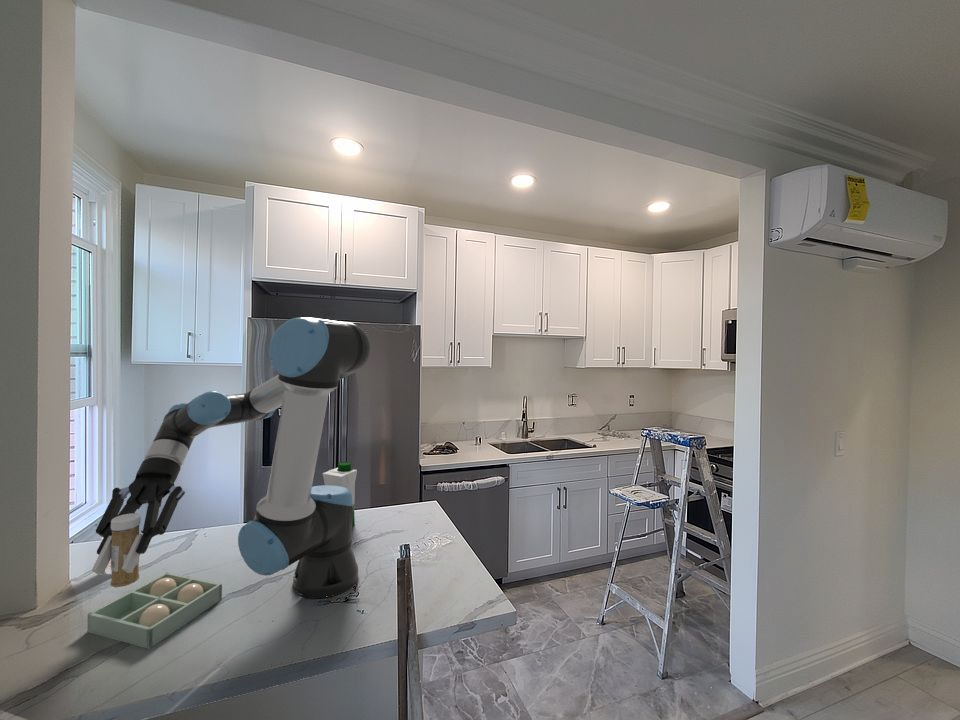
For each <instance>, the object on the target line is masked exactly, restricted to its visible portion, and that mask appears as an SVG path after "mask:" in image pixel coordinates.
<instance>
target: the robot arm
mask: <svg viewBox="0 0 960 720" xmlns="http://www.w3.org/2000/svg"><path fill="white" fill-rule="evenodd" d="M371 354H372V344H371V339H370V338H369V336H368V334H367V333H366V332H365V330H364V329H362V328H361V326H358V325H357V324H355V323H352V322H350V321H338V320H330V319H323V318H317V317H309V316H308V317H293V318H290V319H288V320H286V321H285V322H284V323H283V324H280V325H279V326H278V328H277V329H276V330H275V332H274V333H273V334H272V338H271V340H270V343H269V350H268V357H269V360H270V361H271V363H270V364H271V366H272V368H273V369H274V371H275V372H276V373H278V374H277V375H275V376H273V377H272V378H270V379H268V380H266V381H264V382H263V383H261V384H259V385H258V386H256V387H254V388H253V389H251V390H249V391H247V392H245V393H237V394H227V395H226V394H224V393H221V392H218V391H215V390H208V391H205V392H203V393H202V394H200V395H198V396H196V397H194V398H193V399H192V400H191V401H189V402H188V403H185V402H183V403H180V404H179V403H176V404H174V405H173V406H171V407H170V408H169V409H168V412H167V413H166V414H165V415H164V417H163V420H162V423H161V425H160V427H159V429H158V430H157V433H156V435H155V437H154V438H153V441H152V443H151V445H150V446H149V448H148V450H147V452H146V454H145V455H144V456H145V457H144V460H143V461H141V462H142V463H141V464H140V465H139V468H138V470H137V471H136V474H135V478H134V480H133V481H132V482H131V483H130V484H129V486H127V487H126V486H125V487H123V488H120V487H114V488H113V489H112V491H111V492H112V493H111V499H110V502H109V503H108V505H107V507H106V509H105V511H104V513H103V515H102V517H101V519H100V521H99V523H98V525H97V527H96V529H95V533H96V534H97V535H99V536H100V537H101V538H102V537H103V540H102V539H101V542H100V543H99V546H98V548H97V549H96V555H98V556H97V559H96V560H95V562H94V564H93V566H92V567H91V571H92V572H93V573H94V574H97V575H98V576H100V575H101V576H102V575H104V574H105V569H106V567H107V565H108V563H109V561H110V559H111V544H112V530H111V520H112V519H113V518H115V517H117V516H120V515H124V514H130V513H136V511H137V510H139V509H140V508H141V507H142V506H143V505H146V504H148V505H147V509H146V512H145V519H144V525H143V528H142V530H140V532H141V533H142V534H140V533H139V535H137V536H136V538H135V540H134V542H133V544H132V547H131V549H130V551H129V553H128V555H127V558H126V560H125V562H124V564H123V566H122V569H123V570H124V571H125V572H127V573H132V572H133V570H134V567H135V565H136V563H137V561H138V558H139V559H140V556H141V555H143V554H145V553H146V552H147V549H148V548H149V545H150V543H151V541H152V539H153V538H154V537H156V536H161V535H162V536H163V535H164V534H165V533H166V531H167V528H168V526H169V524H170V522H171V520H172V516H173V514H174V512H175V510H176V508H177V507H178V503H179V501H180V500H181V499H182V498H183V497H184V496H185V493H186V492H185V490H184V489H183V488H182V486H181V485H180V486H176V485H175V482H176V481H177V478H178V476H179V474H180V471H181V469H182V468H181V467H183V464H184V462H185V460H186V457H187V454H188V453H189V451H190V449H191V445H192V444H193V442H194V439H195V438H196V437H198V435H200V434H202V433H204V432H205V431H207V430H208V429H211V428H217V427H221V426H222V427H223V426H227V425H228V426H229V425H234V424H241V423H246V422H252V421H253V422H254V421H262V420H264V419H268V418H271V417H272V416H274V413H275V412H276V410H277V409H279V408H280V407H281V409H280V414H279V415H280V416H279V421H278V427H277V432H276V439H275V443H274V451H273V456H272V463H271V467H270V473H269V475H270V476H269V480H268V485H267V490H266V491H267V492H266V495H265V496H264V497H262V498H261V499H260V500H259V501H258V502H257V504H256V509H255V513H254V518H253V520H249V521H248V522H246V523H245V524H244V525H243V526H242V527H240V530H239V532H238V536H237V545H238V550H239V552H240V556H241V557H242V559H243V561H244V563H245V564H246V565H247V567H248V568H249V569H250V570H252V572H253V573H255V574H257V575H259V576H271V575H274V574H276V573H279V572H281V571H284V570H286V569H287V568H288V567H289V566H292V564H294V563H297V564H296V568H295V570H294V573H293V579H292V587H293V590H294V591H295V592H297V594H300V595H301V597H303V598H307V599H323V598H324V597H325V598H327V597H326V596H330V597H333V596H332V595H334V596H338V595H340V594H342V593H344V592H346V591H348V590H349V589H351V588H352V587H353V586H354V585H355V583H357V581H358V578H359V566H358V563H357V559H356V557H355V552H354V550H353V545H352V543H353V542H352V540H353V539H352V537H353V525H352V513H353V501H352V493H351V491H350V490H349V489H347V488H345V487H341V486H331V485H325V484H324V485H314V486H313V482H314V478H315V472H316V466H317V462H318V455H319V451H320V446H321V438H322V433H323V427H324V423H325V422H324V421H325V416H326V411H327V406H328V400H329V395H330V393H332V392H333V391H335V390H336V389H338V387H339V382H340V380H342V379H345V378H346V377H348V376H351V375H352V374H354V373H356V372H358V371H360V370H361V369H362V368H364V367H365V366H366V364H368V361H369V360H370V357H371ZM129 494H130V496H129ZM167 495H168V497H167V498H166V501H165V503H164V505H163V507H162V501H163V498H165V497H166V496H167ZM128 496H129V497H128ZM127 497H128V498H127ZM125 499H126V504H125V505H124V503H125V502H124V501H125ZM123 505H124V506H123ZM122 506H123V507H122ZM161 507H162V509H161V512H160V508H161ZM121 508H122V509H121ZM159 512H160V514H159ZM325 598H324V599H325Z"/></svg>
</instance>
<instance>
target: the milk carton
mask: <svg viewBox="0 0 960 720" xmlns="http://www.w3.org/2000/svg"><path fill="white" fill-rule="evenodd" d="M357 473H358V470H357V469H354V468H352V463H351V462H349V461H343V462H342V461H341V462H338V464H337V467H336V468H335V467H334V468H333V469H329V470H328V471H325V472H322V477H323V482H324V483H323V484H324V485H331V486H341V487H345V488H347V489H349V490H350V491H351V493H352V501H353V513H352V526H354V525H356V524H355V520H356V519H355V498H356V497H355V493H356V492H355V491H356V488H355V486H356V480H357V475H358V474H357Z"/></svg>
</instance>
